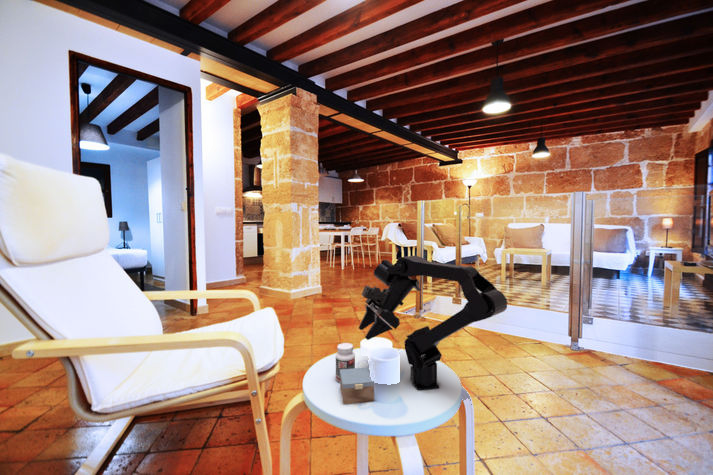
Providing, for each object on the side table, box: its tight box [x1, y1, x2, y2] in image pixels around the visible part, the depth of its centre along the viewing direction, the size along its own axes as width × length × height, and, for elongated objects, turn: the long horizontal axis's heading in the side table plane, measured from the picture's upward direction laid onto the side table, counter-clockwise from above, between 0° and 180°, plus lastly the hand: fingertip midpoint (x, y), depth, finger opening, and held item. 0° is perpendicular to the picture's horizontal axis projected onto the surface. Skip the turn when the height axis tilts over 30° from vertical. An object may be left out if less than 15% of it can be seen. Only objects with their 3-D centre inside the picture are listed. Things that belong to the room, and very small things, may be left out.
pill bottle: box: [335, 342, 356, 383], centre depth 89 cm, size 6×6×10 cm
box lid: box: [340, 366, 375, 389], centre depth 81 cm, size 8×8×1 cm
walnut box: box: [339, 377, 375, 405], centre depth 81 cm, size 8×8×4 cm
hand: (362, 333), depth 89 cm, fingers open, 9 cm apart
